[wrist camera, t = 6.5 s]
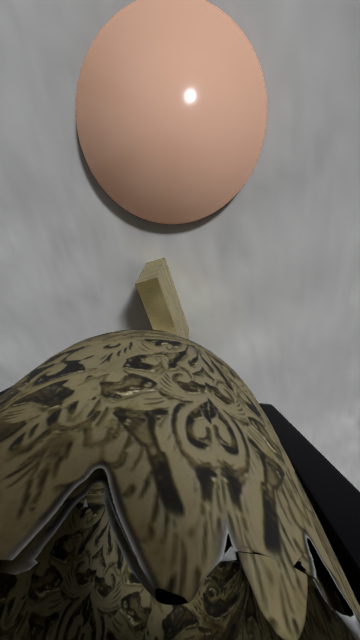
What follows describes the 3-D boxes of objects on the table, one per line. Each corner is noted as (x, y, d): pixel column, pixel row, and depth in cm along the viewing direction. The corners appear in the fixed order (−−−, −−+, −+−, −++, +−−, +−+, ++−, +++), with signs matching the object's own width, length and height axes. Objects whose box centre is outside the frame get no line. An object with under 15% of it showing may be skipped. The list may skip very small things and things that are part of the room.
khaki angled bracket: (182, 388, 19) (180, 429, 16) (143, 384, 19) (133, 425, 16) (195, 260, 15) (196, 280, 12) (147, 255, 15) (135, 275, 12)
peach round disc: (246, 229, 14) (248, 231, 14) (86, 215, 15) (82, 216, 14) (283, 10, 11) (288, 2, 10) (73, -7, 11) (67, -17, 11)
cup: (204, 461, 13) (217, 832, 5) (37, 404, 12) (-218, 766, 4) (301, 320, 10) (627, 740, 2) (86, 226, 9) (-466, 461, 1)
